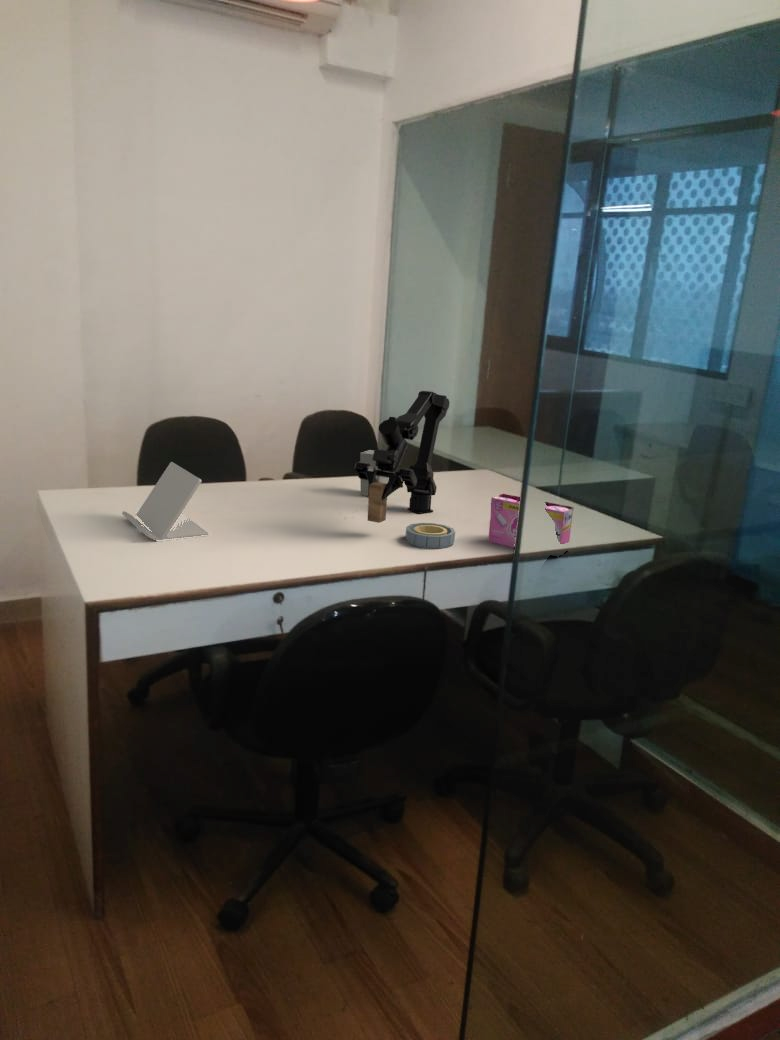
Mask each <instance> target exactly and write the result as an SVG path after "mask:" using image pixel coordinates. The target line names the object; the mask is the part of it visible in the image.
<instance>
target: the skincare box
mask: <svg viewBox="0 0 780 1040" xmlns="http://www.w3.org/2000/svg"><path fill="white" fill-rule="evenodd" d="M374 450H375V449H374ZM374 450H372V449H368V450H365V451H361V452H360V453H359V454H360V456H359V457H360V460H359V462H364V463H369V464H370V466H371V467H374V468H375V469H378V466H376V465H375V463H376V461H374V460H372V458H373V454H374ZM376 479H377V481H378V482H380V483H386V484H387V483H388V481H389V478H387V477H381V476H377V478H376ZM368 484H369V483H368V480H364V479H360V496H365V497H369V496H368Z"/></svg>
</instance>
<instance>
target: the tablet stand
mask: <svg viewBox="0 0 780 1040" xmlns="http://www.w3.org/2000/svg"><path fill="white" fill-rule="evenodd" d="M201 483H202V479H201V478H200V477H198V476H196V475H194V474H193V473H191V472H189V471H188V470H186V469H185V468H183V467H181V466H180V465H178V464H177V463H175V462H173V461H170V462H169V464H168V466H167V467H166V468H165V470H164V471H163V473H162V474H161V476H160V477H159V479H158V481H157V482H156V484H155V485H154V487H153V488H152V489H151V491H150V493H149V494H148V496H147V498H146V499H145V501H144V502H143V504H142V505H141V506H140V508H139V510H138V511H137V513H135V516H136V515H137V516H138V517H139V518H140V519H141V520H142V522H144V524H145V525H146V526H147V527H149V529H150V530H151V531H152V532H151V531H149V530H148V529H147V528H146V527H145V526H144V525H143V524H141V523H140V522H139V521H138V520H137V519H135V518H134V517H133V516H134V515H132V514H130V513H129V512H126V511H125V510H123V511H122V512H121V514H122V516H124V517H125V519H127V520H128V521H129V522H130V523H131V524H132V525H133V526H134V527H135V528H137V530H139V531H140V532H141V533H142V534H143V535H144V536H146V537H147V538H150V539H151V540H152V541H153V540H154V541H155V540H163V539H172V538H173V539H174V538H182V537H183V538H184V537H193V536H201V535H208V534H209V532H208V531H207V530H205V529H204V528H202V527H201V526H200V525H198V523H196V522H194V521H193V520H192V519H191V518H189V517H188V519H189V521H188V519H187V520H186V522H185V520H184V523H183V525H182V521H181V524H180V526H179V523H178V525H177V527H176V529H175V530H174V531H173V529H174V528H175V527H174V528H173V529H172V530H171V531H170V529H171V528H172V526H173V525H174V523H175V522H176V520H177V519H178V517H179V516H180V514H181V513H183V511H184V509H185V508H186V506H187V505H188V503H189V501H191V499H192V497H193V496H194V494H195V492H197V490H198V488H199V486H200V484H201ZM190 519H191V521H190ZM187 521H188V522H187ZM141 525H143V526H144V527H143V526H141ZM181 526H182V527H181ZM177 528H178V529H177ZM209 535H210V534H209ZM209 535H208V536H209ZM193 538H194V537H193ZM184 539H185V538H184Z"/></svg>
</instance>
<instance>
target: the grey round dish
mask: <svg viewBox="0 0 780 1040" xmlns="http://www.w3.org/2000/svg"><path fill="white" fill-rule="evenodd" d="M455 538H456V530H455V528H453V527H451V526H449V525H446V524H440V523H436V522H435V523H434V522H418V523H411V524H409V525H407V526H406V527H405V542H406V543H408V544H410V545H412V546H414V547H418V548H423V549H434V550H435V549H436V550H437V549H438V550H439V549H446V548H449V547H452V546H453V545H454V543H455V540H456V539H455Z"/></svg>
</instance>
